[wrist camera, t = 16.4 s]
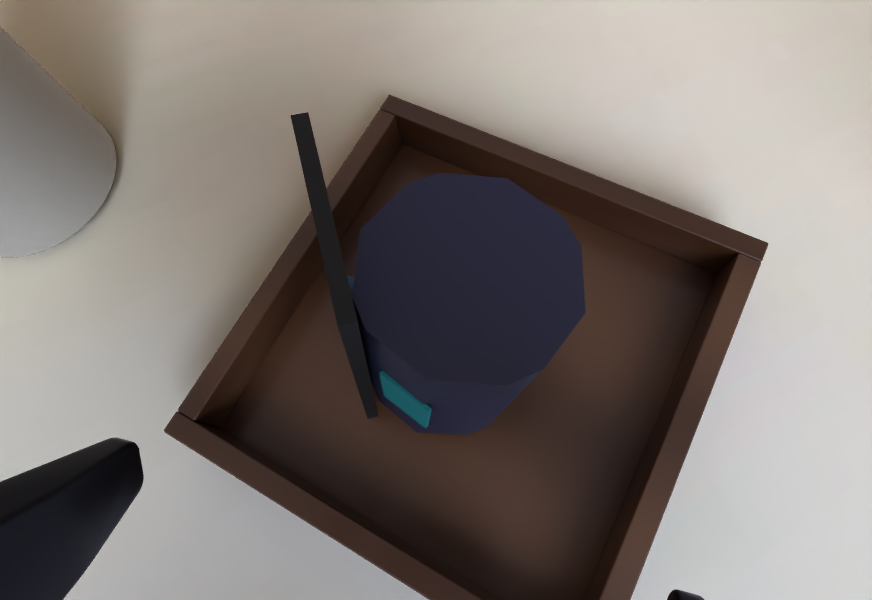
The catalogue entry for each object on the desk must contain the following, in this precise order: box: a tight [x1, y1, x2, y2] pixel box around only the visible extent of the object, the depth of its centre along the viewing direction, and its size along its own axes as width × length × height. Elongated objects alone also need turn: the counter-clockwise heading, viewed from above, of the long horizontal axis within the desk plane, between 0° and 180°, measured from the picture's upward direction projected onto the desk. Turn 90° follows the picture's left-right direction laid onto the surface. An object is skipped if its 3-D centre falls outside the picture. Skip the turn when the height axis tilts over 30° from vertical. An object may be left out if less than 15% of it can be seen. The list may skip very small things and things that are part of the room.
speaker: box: [291, 112, 586, 435], centre depth 16 cm, size 8×6×10 cm
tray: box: [164, 95, 768, 600], centre depth 20 cm, size 16×16×3 cm
